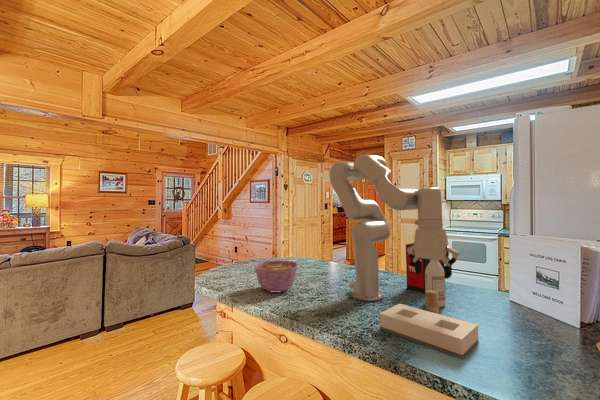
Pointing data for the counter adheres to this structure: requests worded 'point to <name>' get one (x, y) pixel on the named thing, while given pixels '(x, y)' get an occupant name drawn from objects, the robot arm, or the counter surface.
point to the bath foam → (436, 280)
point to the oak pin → (432, 301)
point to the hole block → (431, 329)
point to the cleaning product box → (413, 279)
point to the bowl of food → (276, 274)
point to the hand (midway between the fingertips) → (432, 275)
